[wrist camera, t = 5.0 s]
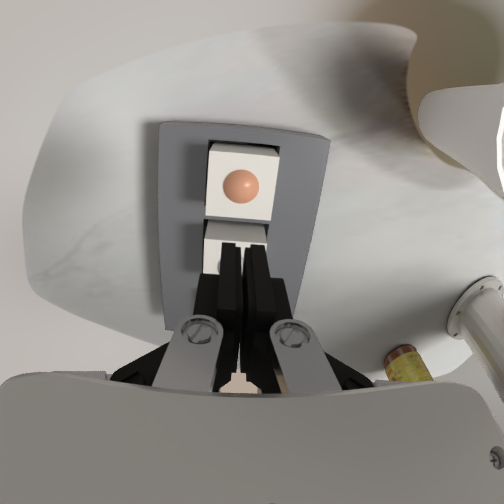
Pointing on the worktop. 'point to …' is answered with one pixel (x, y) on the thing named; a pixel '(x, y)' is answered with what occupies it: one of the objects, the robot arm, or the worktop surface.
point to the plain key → (229, 240)
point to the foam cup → (468, 128)
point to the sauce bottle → (406, 365)
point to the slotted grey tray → (194, 219)
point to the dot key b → (241, 181)
